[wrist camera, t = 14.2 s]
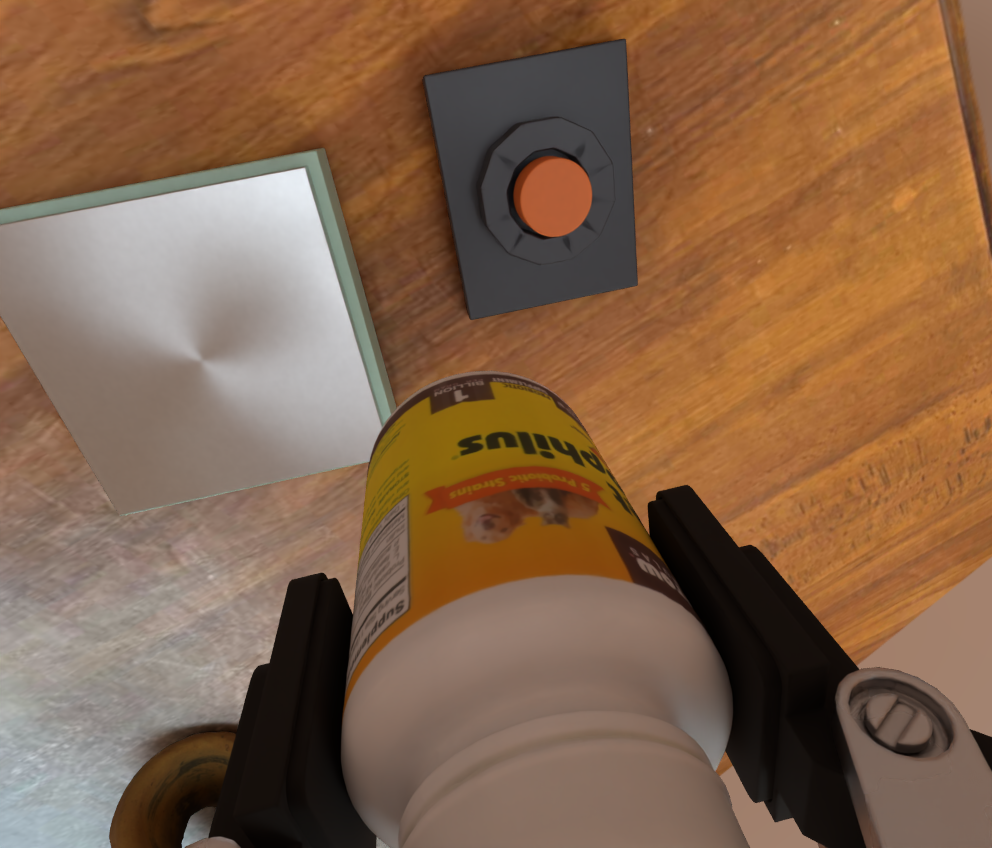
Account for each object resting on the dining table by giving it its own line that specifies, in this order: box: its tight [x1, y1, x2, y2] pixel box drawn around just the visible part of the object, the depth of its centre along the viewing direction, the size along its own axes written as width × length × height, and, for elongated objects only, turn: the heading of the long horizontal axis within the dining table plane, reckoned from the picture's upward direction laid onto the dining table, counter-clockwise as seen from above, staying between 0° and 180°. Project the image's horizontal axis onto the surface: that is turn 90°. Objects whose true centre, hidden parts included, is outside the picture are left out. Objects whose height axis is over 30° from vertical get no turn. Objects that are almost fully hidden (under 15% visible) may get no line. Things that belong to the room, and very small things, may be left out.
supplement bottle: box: [341, 371, 750, 848], centre depth 10 cm, size 6×6×10 cm
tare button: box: [513, 156, 592, 237], centre depth 26 cm, size 3×3×2 cm
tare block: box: [422, 39, 638, 320], centre depth 27 cm, size 11×9×3 cm
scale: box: [0, 148, 397, 516], centre depth 28 cm, size 15×15×4 cm
